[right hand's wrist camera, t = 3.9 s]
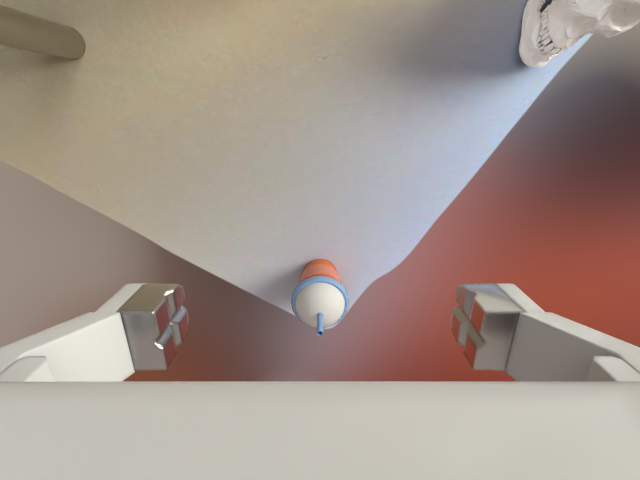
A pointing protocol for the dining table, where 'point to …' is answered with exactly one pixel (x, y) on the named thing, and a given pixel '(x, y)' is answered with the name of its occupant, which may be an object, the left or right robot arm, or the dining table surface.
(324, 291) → the cup with straw
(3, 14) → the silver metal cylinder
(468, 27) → the dining table surface
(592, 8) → the skull
